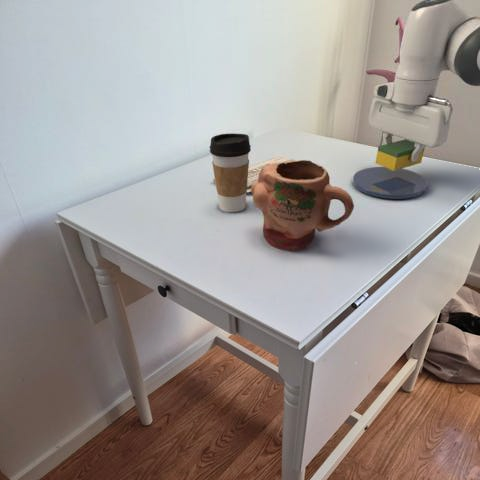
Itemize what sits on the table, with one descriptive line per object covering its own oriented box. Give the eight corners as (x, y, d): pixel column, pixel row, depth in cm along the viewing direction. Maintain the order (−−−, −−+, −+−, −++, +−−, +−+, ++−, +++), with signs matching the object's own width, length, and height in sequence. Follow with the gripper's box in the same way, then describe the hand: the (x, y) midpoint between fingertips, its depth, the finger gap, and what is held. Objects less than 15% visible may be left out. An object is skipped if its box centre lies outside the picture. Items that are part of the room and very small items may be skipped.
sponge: (401, 155, 105) (405, 139, 102) (421, 162, 101) (425, 145, 98) (375, 163, 102) (378, 146, 99) (393, 171, 98) (397, 153, 95)
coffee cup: (239, 218, 90) (237, 146, 80) (206, 210, 93) (200, 139, 84) (257, 202, 96) (258, 133, 86) (226, 195, 99) (222, 128, 89)
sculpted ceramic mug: (355, 236, 83) (368, 165, 74) (338, 267, 75) (349, 192, 66) (263, 217, 90) (263, 151, 81) (237, 244, 82) (235, 173, 73)
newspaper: (245, 198, 98) (244, 187, 96) (214, 187, 106) (212, 177, 104) (312, 172, 108) (312, 162, 107) (280, 164, 116) (279, 154, 115)
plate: (387, 167, 110) (388, 161, 109) (441, 189, 99) (443, 183, 98) (337, 181, 104) (338, 176, 103) (389, 207, 92) (390, 201, 92)
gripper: (464, 98, 86) (445, 166, 95) (389, 81, 99) (378, 142, 108) (443, 103, 83) (426, 172, 92) (369, 85, 97) (360, 147, 106)
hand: (400, 156), depth 100 cm, fingers closed on sponge, 6 cm apart
